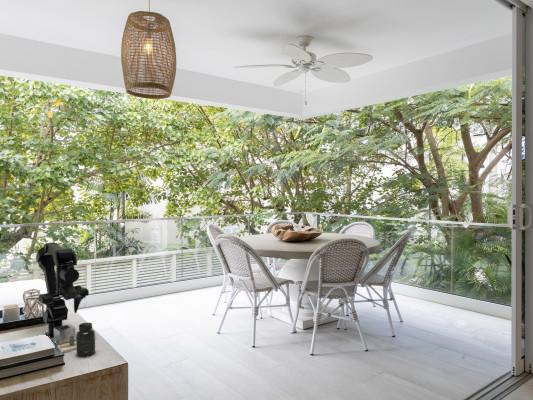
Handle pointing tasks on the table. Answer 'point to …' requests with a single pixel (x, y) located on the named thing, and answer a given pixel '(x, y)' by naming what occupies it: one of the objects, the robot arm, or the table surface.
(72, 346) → the shaft plate
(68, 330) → the hollow square tube
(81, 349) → the supplement bottle
